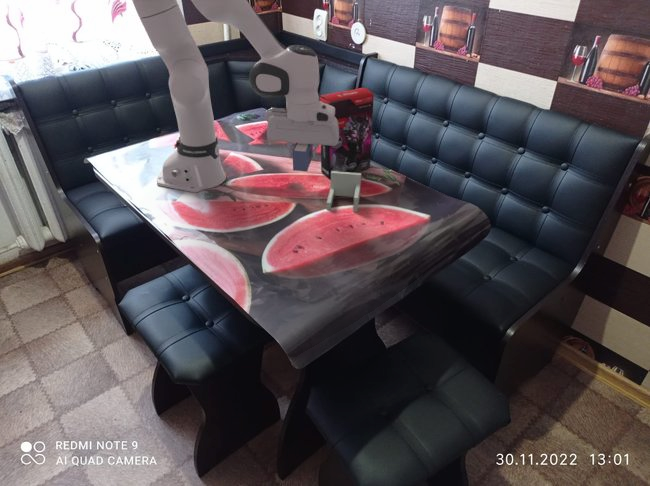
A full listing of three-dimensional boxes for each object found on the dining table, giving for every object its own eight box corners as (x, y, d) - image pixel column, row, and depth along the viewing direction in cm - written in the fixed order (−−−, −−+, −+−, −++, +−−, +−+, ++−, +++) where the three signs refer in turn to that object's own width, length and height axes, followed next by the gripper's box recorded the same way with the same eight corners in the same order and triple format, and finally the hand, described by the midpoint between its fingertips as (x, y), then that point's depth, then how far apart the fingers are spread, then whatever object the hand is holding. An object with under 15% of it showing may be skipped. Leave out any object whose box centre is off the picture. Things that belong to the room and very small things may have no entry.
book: (293, 170, 136) (292, 150, 133) (299, 155, 144) (299, 136, 141) (307, 171, 136) (306, 151, 132) (312, 156, 144) (312, 137, 140)
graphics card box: (328, 180, 163) (330, 101, 147) (318, 172, 168) (319, 94, 152) (370, 169, 170) (376, 92, 154) (359, 161, 175) (364, 86, 159)
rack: (326, 209, 148) (326, 186, 143) (330, 193, 156) (331, 171, 151) (357, 212, 147) (358, 189, 142) (359, 195, 155) (361, 173, 150)
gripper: (262, 111, 129) (265, 158, 137) (338, 116, 127) (336, 164, 135) (268, 103, 134) (270, 149, 142) (340, 108, 132) (339, 154, 140)
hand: (303, 156), depth 139 cm, fingers closed on book, 4 cm apart
